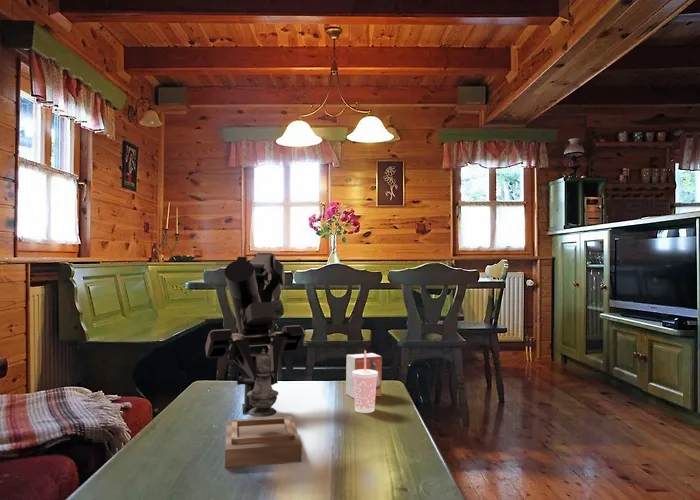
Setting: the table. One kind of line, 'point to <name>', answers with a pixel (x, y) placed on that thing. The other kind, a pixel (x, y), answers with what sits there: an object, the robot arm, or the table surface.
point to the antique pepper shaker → (262, 388)
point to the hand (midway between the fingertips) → (265, 378)
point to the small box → (358, 363)
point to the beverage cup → (365, 388)
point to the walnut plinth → (262, 442)
